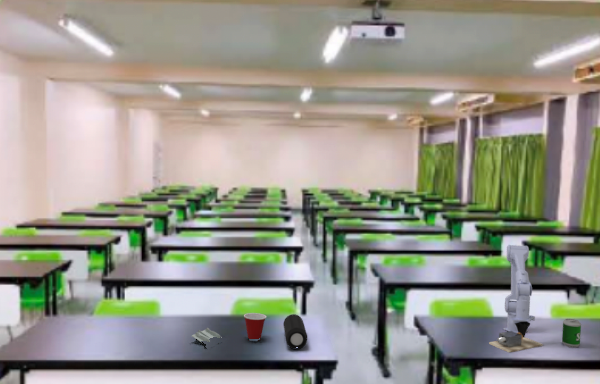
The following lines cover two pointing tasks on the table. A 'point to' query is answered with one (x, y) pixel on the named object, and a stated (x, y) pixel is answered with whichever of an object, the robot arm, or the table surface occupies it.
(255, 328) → the plastic cup
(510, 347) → the bearing stand
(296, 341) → the portable speaker
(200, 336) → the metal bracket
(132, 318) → the table surface
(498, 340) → the shaft
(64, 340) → the table surface
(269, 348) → the table surface
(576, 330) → the soda can
